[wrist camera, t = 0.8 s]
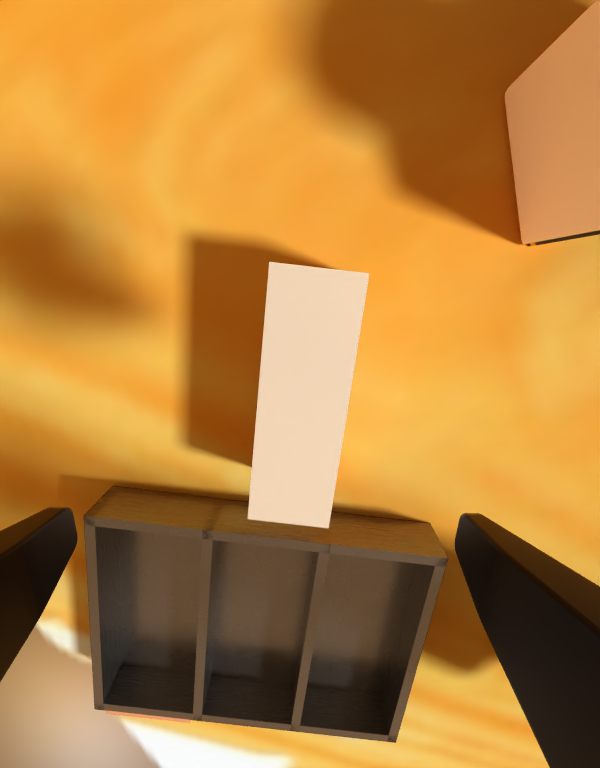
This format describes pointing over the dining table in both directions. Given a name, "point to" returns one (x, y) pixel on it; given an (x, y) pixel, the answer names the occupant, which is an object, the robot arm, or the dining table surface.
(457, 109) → the dining table surface
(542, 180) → the medicine bottle
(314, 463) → the blanking panel
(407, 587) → the divided tray
